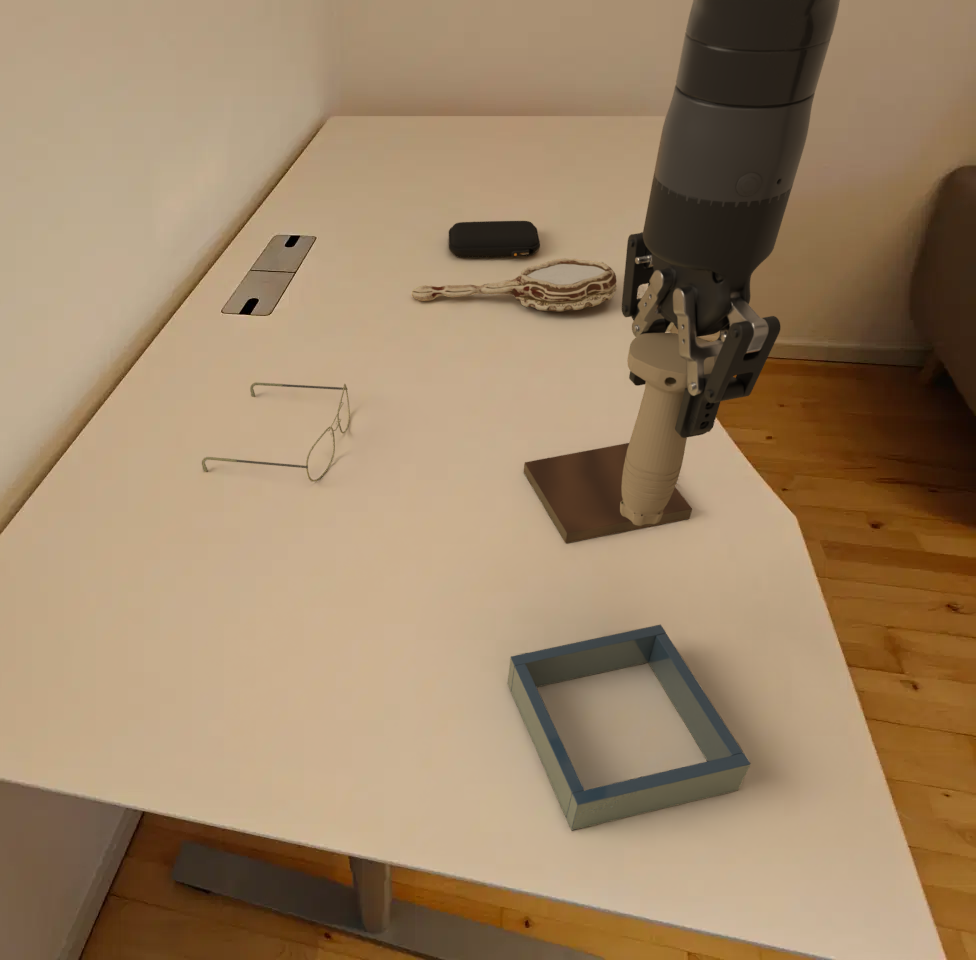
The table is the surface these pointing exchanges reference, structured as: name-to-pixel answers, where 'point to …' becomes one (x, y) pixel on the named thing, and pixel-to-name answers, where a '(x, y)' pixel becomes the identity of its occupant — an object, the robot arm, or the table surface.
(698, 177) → the robot arm
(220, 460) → the eyeglasses
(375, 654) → the table surface
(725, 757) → the blue square frame
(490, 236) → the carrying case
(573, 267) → the hand mirror
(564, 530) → the board
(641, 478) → the handle
